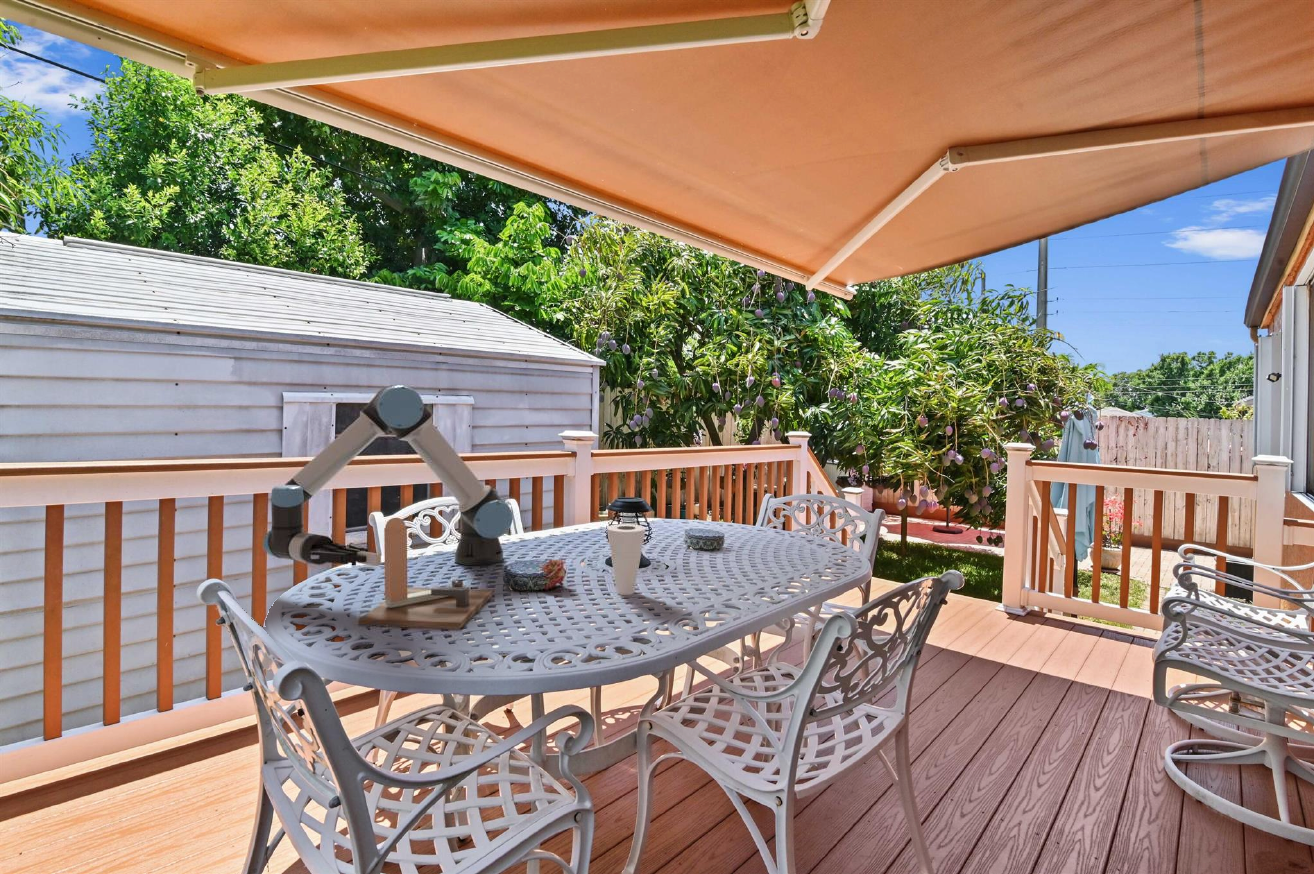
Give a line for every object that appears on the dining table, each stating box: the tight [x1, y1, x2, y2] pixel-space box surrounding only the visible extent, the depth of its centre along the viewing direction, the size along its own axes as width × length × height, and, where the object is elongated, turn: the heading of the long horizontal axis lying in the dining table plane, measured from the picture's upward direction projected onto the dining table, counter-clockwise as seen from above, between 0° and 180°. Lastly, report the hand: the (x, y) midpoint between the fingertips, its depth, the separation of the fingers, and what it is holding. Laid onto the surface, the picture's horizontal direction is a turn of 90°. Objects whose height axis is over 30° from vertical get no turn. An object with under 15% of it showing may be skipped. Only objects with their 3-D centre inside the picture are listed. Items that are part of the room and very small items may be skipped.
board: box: [358, 586, 494, 630], centre depth 172 cm, size 26×24×2 cm
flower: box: [539, 557, 568, 591], centre depth 192 cm, size 10×9×8 cm
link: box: [383, 517, 467, 608], centre depth 173 cm, size 20×5×22 cm, turn 132°
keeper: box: [431, 579, 470, 608], centre depth 175 cm, size 12×9×4 cm
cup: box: [606, 523, 647, 596], centre depth 188 cm, size 11×11×18 cm
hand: (378, 560), depth 170 cm, fingers closed
